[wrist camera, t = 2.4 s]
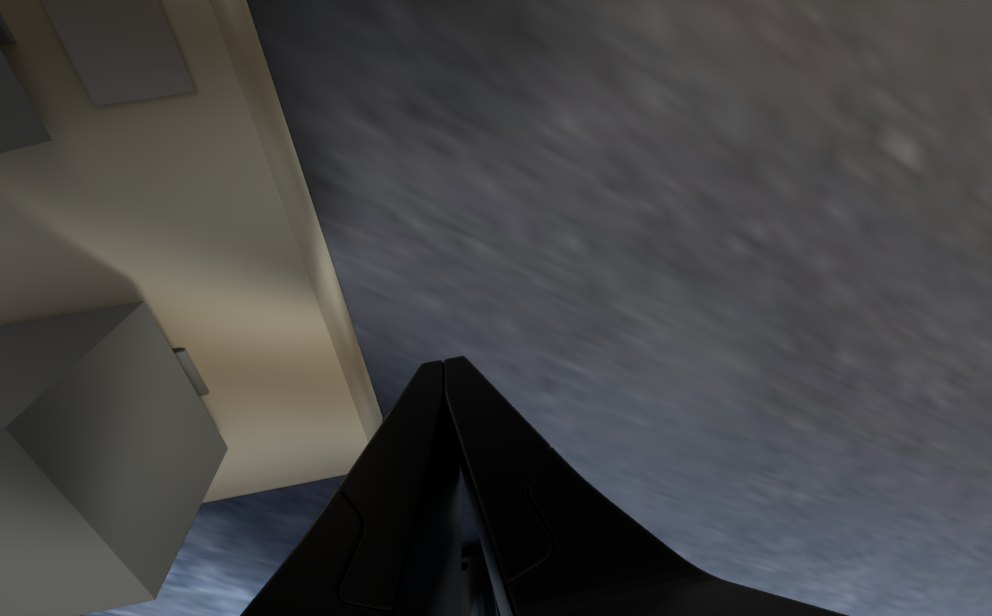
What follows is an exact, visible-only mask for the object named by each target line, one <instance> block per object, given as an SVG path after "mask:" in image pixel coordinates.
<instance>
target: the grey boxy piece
mask: <svg viewBox="0 0 992 616" xmlns="http://www.w3.org/2000/svg"><path fill="white" fill-rule="evenodd" d="M227 450H228V447H227V445H226V443H225V442H224V440H223V438H222V436H221V435H220V433H219V431H218V429H217V428H216V426H215V424H214V422H213V421H212V419H211V417H210V415H209V414H208V412H207V410H206V408H205V407H204V405H203V403H202V401H201V400H200V398H199V396H198V394H197V393H196V391H195V389H194V387H193V386H192V384H191V382H190V380H189V379H188V377H187V375H186V373H185V372H184V370H183V368H182V366H181V365H180V363H179V361H178V359H177V358H176V356H175V354H174V352H173V351H172V349H171V347H170V345H169V344H168V342H167V340H166V338H165V337H164V335H163V333H162V331H161V330H160V328H159V326H158V324H157V323H156V321H155V319H154V317H153V316H152V314H151V312H150V310H149V309H148V307H147V305H146V303H145V302H144V301H143V302H138V303H132V304H126V305H120V306H114V307H108V308H102V309H97V310H91V311H85V312H79V313H73V314H67V315H61V316H56V317H50V318H44V319H38V320H32V321H26V322H20V323H14V324H9V325H3V326H0V616H79V615H84V614H89V613H93V612H98V611H103V610H108V609H112V608H117V607H122V606H127V605H131V604H136V603H141V602H146V601H150V600H155V599H156V597H157V595H158V593H159V591H160V589H161V586H162V584H163V582H164V580H165V578H166V576H167V574H168V572H169V570H170V568H171V566H172V564H173V562H174V560H175V558H176V555H177V553H178V551H179V549H180V547H181V545H182V543H183V541H184V539H185V537H186V535H187V533H188V531H189V529H190V526H191V524H192V522H193V520H194V518H195V516H196V514H197V512H198V510H199V508H200V506H201V504H202V502H203V500H204V498H205V495H206V493H207V491H208V489H209V487H210V485H211V483H212V481H213V479H214V477H215V475H216V473H217V471H218V469H219V467H220V464H221V462H222V460H223V458H224V456H225V454H226V452H227Z"/></svg>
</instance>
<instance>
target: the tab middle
mask: <svg viewBox="0 0 992 616" xmlns="http://www.w3.org/2000/svg"><path fill="white" fill-rule="evenodd" d="M49 141H52V139H51V137H50V135H49V134H48V132H47V130H46V128H45V127H44V125H43V123H42V121H41V120H40V118H39V116H38V114H37V113H36V111H35V109H34V107H33V106H32V104H31V102H30V100H29V99H28V97H27V95H26V93H25V92H24V90H23V88H22V86H21V85H20V83H19V81H18V79H17V78H16V76H15V74H14V72H13V71H12V69H11V67H10V65H9V64H8V62H7V60H6V58H5V57H4V55H3V53H2V51H1V50H0V153H3V152H7V151H11V150H15V149H19V148H24V147H28V146H32V145H36V144H40V143H44V142H49Z"/></svg>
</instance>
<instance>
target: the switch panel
mask: <svg viewBox="0 0 992 616" xmlns="http://www.w3.org/2000/svg"><path fill="white" fill-rule="evenodd" d="M0 50H1V51H2V53H3V55H4V57H5V58H6V60H7V62H8V64H9V65H10V67H11V69H12V71H13V72H14V74H15V76H16V78H17V79H18V81H19V83H20V85H21V86H22V88H23V90H24V92H25V93H26V95H27V97H28V99H29V100H30V102H31V104H32V106H33V107H34V109H35V111H36V113H37V114H38V116H39V118H40V120H41V121H42V123H43V125H44V127H45V128H46V130H47V132H48V134H49V135H50V137H51V139H52V141H49V142H44V143H40V144H36V145H32V146H28V147H24V148H19V149H15V150H11V151H7V152H3V153H0V326H3V325H9V324H14V323H20V322H26V321H32V320H38V319H44V318H50V317H56V316H61V315H67V314H73V313H79V312H85V311H91V310H97V309H102V308H108V307H114V306H120V305H126V304H132V303H138V302H143V301H144V302H145V303H146V305H147V307H148V309H149V310H150V312H151V314H152V316H153V317H154V319H155V321H156V323H157V324H158V326H159V328H160V330H161V331H162V333H163V335H164V337H165V338H166V340H167V342H168V344H169V345H170V347H171V349H172V351H173V352H174V354H175V356H176V358H177V359H178V361H179V363H180V365H181V366H182V368H183V370H184V372H185V373H186V375H187V377H188V379H189V380H190V382H191V384H192V386H193V387H194V389H195V391H196V393H197V394H198V396H199V398H200V400H201V401H202V403H203V405H204V407H205V408H206V410H207V412H208V414H209V415H210V417H211V419H212V421H213V422H214V424H215V426H216V428H217V429H218V431H219V433H220V435H221V436H222V438H223V440H224V442H225V443H226V445H227V447H228V450H227V452H226V454H225V456H224V458H223V460H222V462H221V464H220V467H219V469H218V471H217V473H216V475H215V477H214V479H213V481H212V483H211V485H210V487H209V489H208V491H207V493H206V495H205V498H204V500H203V502H202V503H206V502H211V501H216V500H221V499H226V498H231V497H236V496H241V495H246V494H251V493H256V492H261V491H266V490H271V489H276V488H281V487H286V486H291V485H296V484H301V483H306V482H311V481H316V480H321V479H326V478H331V477H336V476H341V475H346V474H348V472H349V471H350V469H351V468H352V466H353V465H354V463H355V462H356V460H357V459H358V457H359V456H360V454H361V453H362V451H363V450H364V448H365V447H366V445H367V444H368V443H369V441H370V440H371V438H372V437H373V435H374V434H375V432H376V431H377V429H378V428H379V426H380V425H381V423H382V414H381V411H380V408H379V405H378V402H377V399H376V396H375V393H374V390H373V387H372V384H371V381H370V378H369V375H368V372H367V369H366V365H365V362H364V359H363V356H362V353H361V350H360V347H359V344H358V341H357V338H356V335H355V332H354V329H353V326H352V323H351V320H350V316H349V313H348V310H347V307H346V304H345V301H344V298H343V295H342V292H341V289H340V286H339V283H338V280H337V277H336V274H335V270H334V267H333V264H332V261H331V258H330V255H329V252H328V249H327V246H326V243H325V240H324V237H323V234H322V231H321V228H320V225H319V221H318V218H317V215H316V212H315V209H314V206H313V203H312V200H311V197H310V194H309V191H308V188H307V185H306V182H305V179H304V176H303V172H302V169H301V166H300V163H299V160H298V157H297V154H296V151H295V148H294V145H293V142H292V139H291V136H290V133H289V130H288V127H287V123H286V120H285V117H284V114H283V111H282V108H281V105H280V102H279V99H278V96H277V93H276V90H275V87H274V84H273V81H272V77H271V74H270V71H269V68H268V65H267V62H266V59H265V56H264V53H263V50H262V47H261V44H260V41H259V38H258V35H257V32H256V28H255V25H254V22H253V19H252V16H251V13H250V10H249V7H248V4H247V1H246V0H0Z"/></svg>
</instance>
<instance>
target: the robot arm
mask: <svg viewBox="0 0 992 616" xmlns="http://www.w3.org/2000/svg"><path fill="white" fill-rule="evenodd" d="M460 465H461V467H460ZM461 469H462V474H463V478H464V482H465V486H466V490H467V493H468V497H469V501H470V504H471V508H472V512H473V516H474V519H475V523H476V527H477V530H478V534H479V538H480V541H481V544H478V545H473V546H468V547H464V548H461ZM338 489H339V490H337V491H335V493H334V494H333V496H332V497H331V499H330V500H329V502H328V503H327V504H326V506H325V507H324V509H323V510H322V512H321V513H320V515H319V516H318V517H317V519H316V520H315V522H314V523H313V524H312V526H311V527H310V529H309V530H308V531H307V533H306V534H305V536H304V537H303V538H302V539H301V541H300V542H299V543H298V544H297V546H296V547H295V548H294V550H293V551H292V552H291V553H290V555H289V556H288V557H287V558H286V560H285V561H284V562H283V564H282V565H281V566H280V567H279V569H278V570H277V571H276V572H275V573H274V575H273V576H272V577H271V578H270V580H269V581H268V582H267V583H266V584H265V586H264V587H263V588H262V589H261V591H260V592H259V593H258V594H257V595H256V597H255V598H254V599H253V600H252V601H251V603H250V604H249V605H248V606H247V608H246V609H245V610H244V611H243V612H242V614H241V615H240V616H848V615H844V614H841V613H837V612H834V611H830V610H827V609H823V608H820V607H816V606H813V605H809V604H806V603H802V602H799V601H795V600H792V599H788V598H785V597H781V596H778V595H774V594H771V593H767V592H764V591H760V590H757V589H753V588H750V587H746V586H743V585H739V584H736V583H732V582H729V581H726V580H722V579H720V578H718V577H715V576H713V575H711V574H709V573H707V572H705V571H703V570H701V569H700V568H698V567H696V566H694V565H693V564H691V563H690V562H688V561H687V560H685V559H684V558H682V557H681V556H680V555H678V554H677V553H676V552H674V551H673V550H672V549H670V548H669V547H668V546H667V545H665V544H664V543H663V542H662V541H660V540H659V539H658V538H657V537H655V536H654V535H653V534H652V533H650V532H649V531H648V530H647V529H645V528H644V527H643V526H641V525H640V524H639V523H638V522H636V521H635V520H634V519H633V518H631V517H630V516H629V515H628V514H626V513H625V512H624V511H623V510H621V509H620V508H619V507H618V506H616V505H615V504H614V503H612V502H611V501H610V500H609V499H607V498H606V497H605V496H604V495H603V494H602V493H600V492H599V491H598V490H597V489H596V488H594V487H593V486H592V485H591V484H590V483H588V482H587V481H586V480H585V479H584V478H583V477H582V476H581V475H580V474H579V473H578V472H577V471H575V470H574V469H573V468H572V467H571V466H570V465H569V464H568V463H567V462H566V461H565V460H564V459H563V458H562V457H561V456H560V455H559V454H558V453H557V451H556V450H555V449H554V448H552V447H550V445H549V443H548V442H547V441H546V440H545V439H544V438H543V437H542V436H541V435H540V434H539V433H538V432H537V431H536V430H535V429H534V428H533V427H532V426H531V425H530V424H529V423H528V422H527V421H526V420H525V418H524V417H523V416H522V415H521V414H520V413H519V412H518V411H517V410H516V409H515V408H514V407H513V406H512V405H511V404H510V403H509V402H508V401H507V400H506V399H505V398H504V397H503V396H502V395H501V394H500V392H499V391H498V390H497V389H496V388H495V387H494V386H493V385H492V384H491V383H490V382H489V381H488V380H487V379H486V378H485V377H484V376H483V375H482V374H481V373H480V372H479V371H478V370H477V369H476V368H475V366H474V365H473V364H472V363H471V362H470V361H469V360H468V359H467V358H466V357H464V356H459V357H454V358H449V359H446V360H445V361H444V363H443V361H441V360H438V361H433V362H427V363H423V364H421V365H420V367H419V368H418V370H417V371H416V373H415V374H414V376H413V377H412V379H411V380H410V382H409V383H408V385H407V386H406V388H405V389H404V391H403V392H402V394H401V395H400V397H399V398H398V400H397V401H396V402H395V404H394V405H393V407H392V408H391V410H390V411H389V413H388V414H387V416H386V417H385V419H384V420H383V422H382V423H381V425H380V426H379V428H378V429H377V431H376V432H375V434H374V435H373V437H372V438H371V440H370V441H369V443H368V444H367V445H366V447H365V448H364V450H363V451H362V453H361V454H360V456H359V457H358V459H357V460H356V462H355V463H354V465H353V466H352V468H351V469H350V471H349V472H348V474H347V475H346V477H345V478H344V480H343V481H342V483H341V484H340V486H339V488H338Z"/></svg>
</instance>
